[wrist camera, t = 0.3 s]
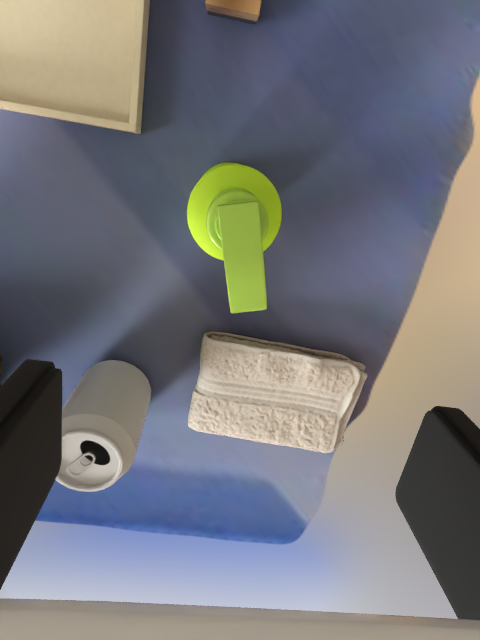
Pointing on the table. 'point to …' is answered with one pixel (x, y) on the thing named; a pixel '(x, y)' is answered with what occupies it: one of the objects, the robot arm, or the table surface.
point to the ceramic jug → (0, 365)
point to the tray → (75, 60)
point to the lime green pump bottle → (236, 228)
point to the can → (103, 425)
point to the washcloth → (274, 392)
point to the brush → (235, 9)
